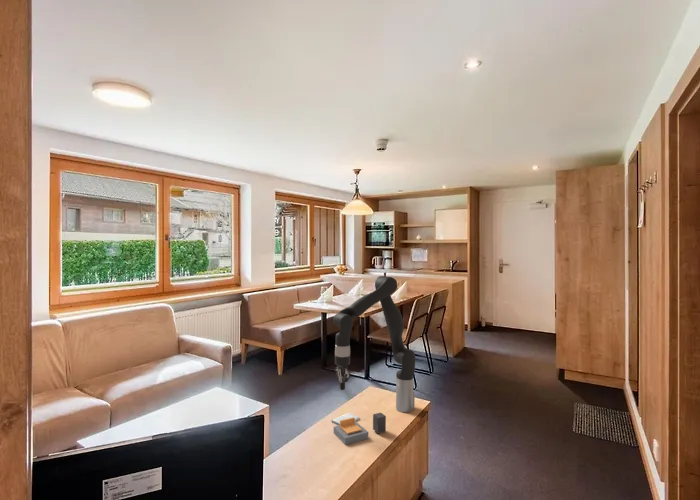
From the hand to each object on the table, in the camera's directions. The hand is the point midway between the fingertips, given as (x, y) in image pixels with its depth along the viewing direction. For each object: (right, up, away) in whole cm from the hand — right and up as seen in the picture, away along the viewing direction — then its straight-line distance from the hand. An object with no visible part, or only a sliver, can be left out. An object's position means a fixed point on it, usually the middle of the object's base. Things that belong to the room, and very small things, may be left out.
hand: (342, 389), depth 181 cm
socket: (+4, -19, -8) cm, 21 cm away
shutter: (+4, -15, -8) cm, 18 cm away
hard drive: (+2, -20, +7) cm, 21 cm away
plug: (+18, -19, -4) cm, 26 cm away
